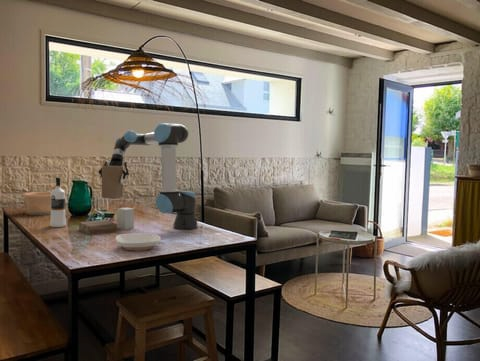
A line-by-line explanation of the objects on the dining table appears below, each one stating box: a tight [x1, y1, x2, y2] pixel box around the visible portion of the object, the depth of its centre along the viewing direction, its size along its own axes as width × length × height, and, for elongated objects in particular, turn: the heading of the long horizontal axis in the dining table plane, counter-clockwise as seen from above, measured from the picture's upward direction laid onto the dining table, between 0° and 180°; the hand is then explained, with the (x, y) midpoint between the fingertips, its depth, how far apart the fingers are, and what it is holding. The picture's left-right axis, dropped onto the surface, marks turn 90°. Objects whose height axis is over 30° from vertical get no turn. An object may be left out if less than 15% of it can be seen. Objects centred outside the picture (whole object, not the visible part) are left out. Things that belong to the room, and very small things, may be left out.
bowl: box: [115, 232, 162, 251], centre depth 207 cm, size 22×22×5 cm
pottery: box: [22, 191, 51, 216], centre depth 298 cm, size 22×22×14 cm
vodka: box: [49, 177, 67, 228], centre depth 253 cm, size 9×9×30 cm
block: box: [101, 165, 124, 200], centre depth 262 cm, size 10×10×20 cm
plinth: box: [78, 219, 118, 236], centre depth 245 cm, size 16×16×5 cm
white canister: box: [116, 207, 135, 230], centre depth 255 cm, size 7×7×12 cm
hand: (111, 182), depth 260 cm, fingers closed on block, 12 cm apart
